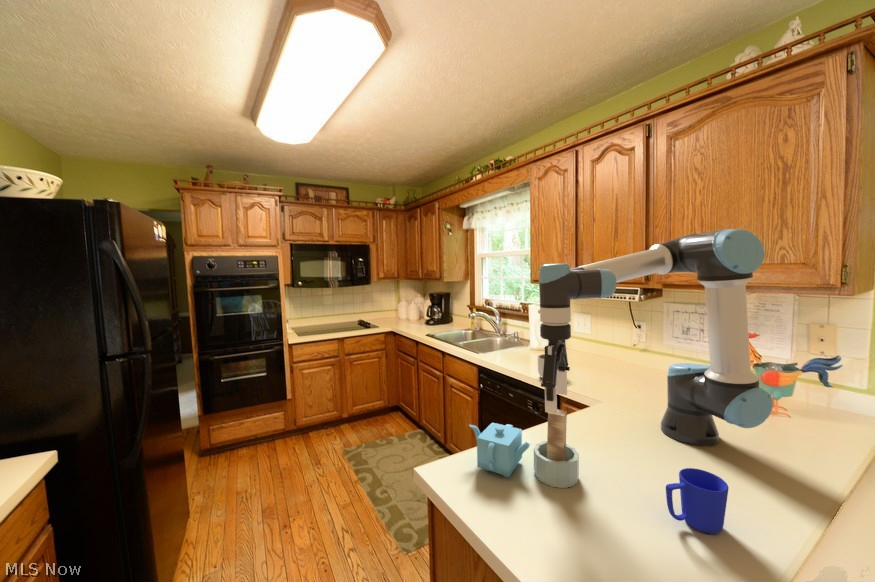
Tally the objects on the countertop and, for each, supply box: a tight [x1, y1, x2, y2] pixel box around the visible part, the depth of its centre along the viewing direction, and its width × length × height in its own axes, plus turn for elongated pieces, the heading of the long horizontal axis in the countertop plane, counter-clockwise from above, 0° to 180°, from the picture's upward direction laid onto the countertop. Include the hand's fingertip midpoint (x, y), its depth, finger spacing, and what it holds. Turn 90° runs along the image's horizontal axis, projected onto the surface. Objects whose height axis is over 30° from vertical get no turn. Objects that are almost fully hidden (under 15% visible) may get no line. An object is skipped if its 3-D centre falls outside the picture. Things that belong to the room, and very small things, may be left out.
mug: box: [665, 467, 729, 535], centre depth 71 cm, size 8×12×10 cm
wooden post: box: [547, 408, 568, 461], centre depth 89 cm, size 4×4×16 cm
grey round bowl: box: [533, 440, 580, 489], centre depth 89 cm, size 11×11×6 cm
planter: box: [537, 353, 550, 378], centre depth 168 cm, size 12×12×11 cm
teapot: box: [468, 422, 531, 478], centre depth 94 cm, size 16×18×11 cm
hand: (556, 402), depth 88 cm, fingers open, 13 cm apart
